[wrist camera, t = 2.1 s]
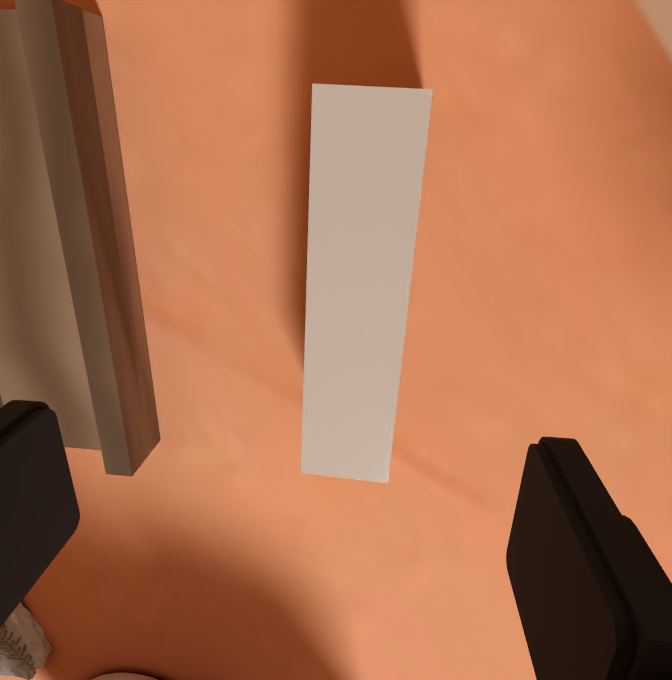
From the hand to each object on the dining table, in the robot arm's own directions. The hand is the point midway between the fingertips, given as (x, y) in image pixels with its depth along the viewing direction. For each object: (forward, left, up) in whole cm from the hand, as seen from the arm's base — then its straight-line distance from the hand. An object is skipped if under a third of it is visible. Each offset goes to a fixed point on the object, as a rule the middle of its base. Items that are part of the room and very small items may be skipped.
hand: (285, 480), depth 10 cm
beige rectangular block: (-1, 0, -17) cm, 17 cm away
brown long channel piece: (+16, 0, -16) cm, 23 cm away
